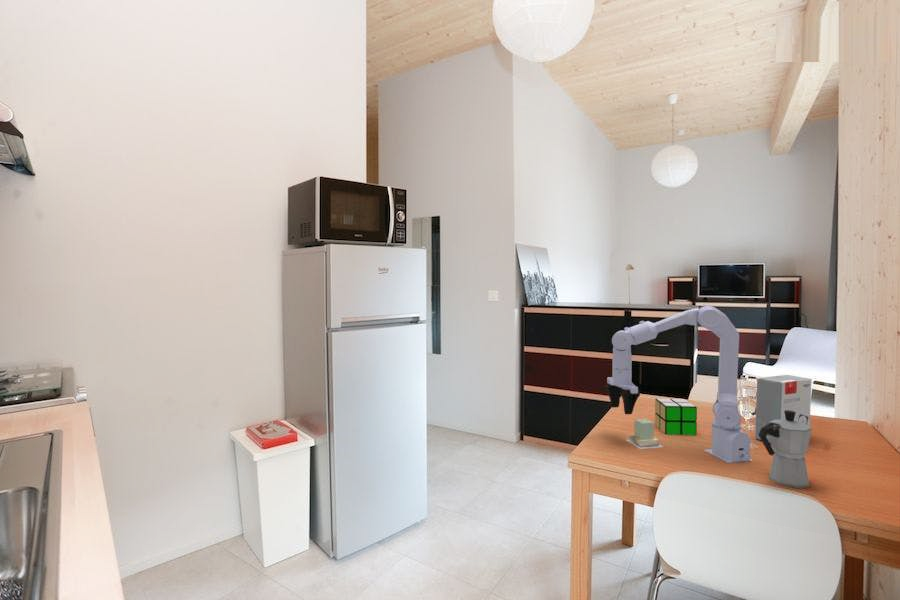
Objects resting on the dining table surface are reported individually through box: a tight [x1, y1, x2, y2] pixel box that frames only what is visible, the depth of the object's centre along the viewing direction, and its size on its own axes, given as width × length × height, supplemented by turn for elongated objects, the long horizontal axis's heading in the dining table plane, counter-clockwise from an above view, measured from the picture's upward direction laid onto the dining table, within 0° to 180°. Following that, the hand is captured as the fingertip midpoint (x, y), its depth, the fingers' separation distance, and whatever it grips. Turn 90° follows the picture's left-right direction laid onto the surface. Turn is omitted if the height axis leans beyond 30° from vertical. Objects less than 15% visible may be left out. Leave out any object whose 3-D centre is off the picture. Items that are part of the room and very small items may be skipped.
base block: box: [629, 433, 660, 447], centre depth 139 cm, size 6×6×2 cm
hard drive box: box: [754, 374, 813, 445], centre depth 142 cm, size 16×8×20 cm, turn 112°
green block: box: [633, 418, 655, 440], centre depth 139 cm, size 4×4×5 cm
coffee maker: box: [759, 410, 813, 489], centre depth 113 cm, size 15×9×18 cm, turn 99°
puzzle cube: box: [654, 398, 698, 436], centre depth 151 cm, size 10×10×10 cm
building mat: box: [625, 438, 664, 450], centre depth 139 cm, size 14×16×1 cm
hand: (621, 410), depth 142 cm, fingers open, 7 cm apart
